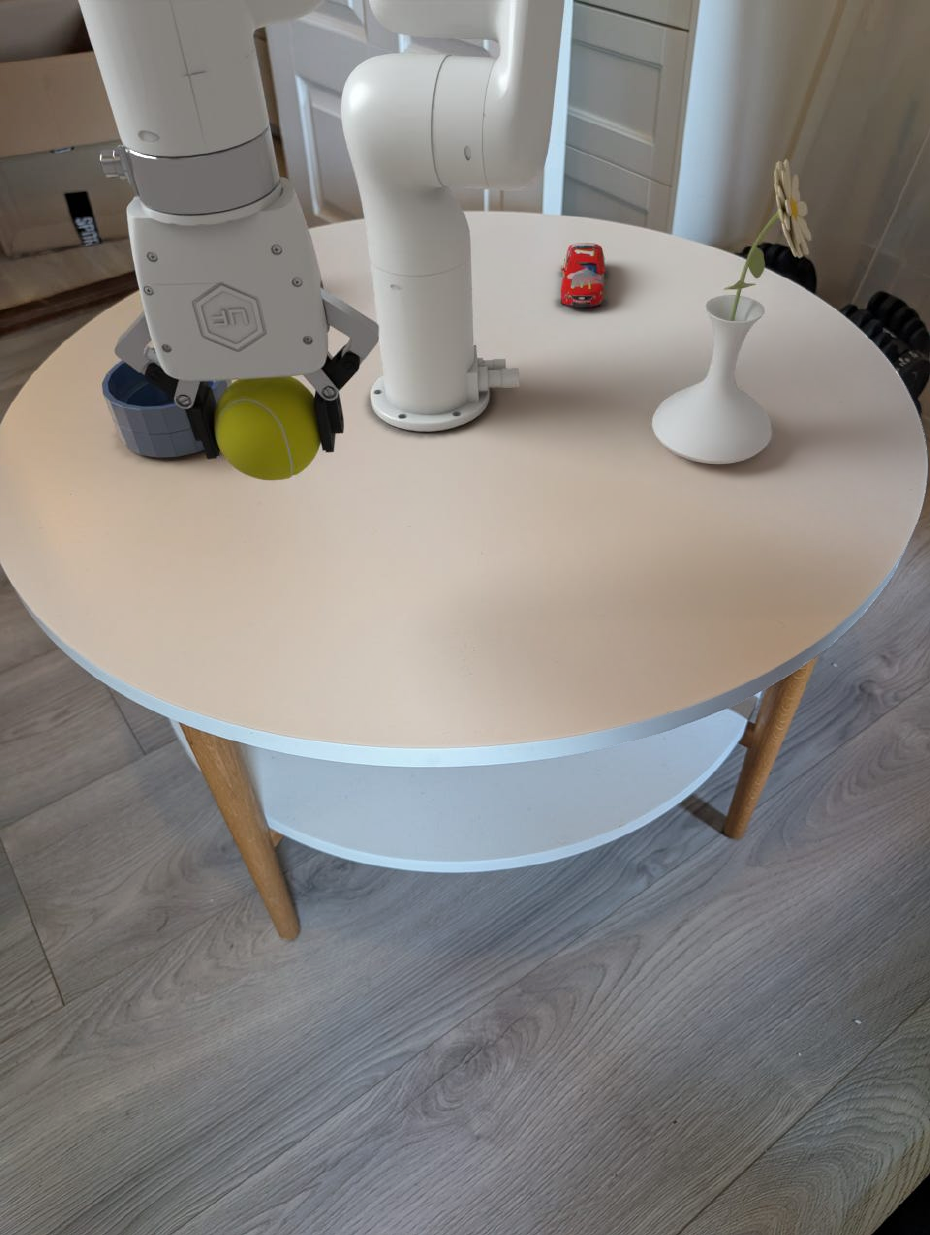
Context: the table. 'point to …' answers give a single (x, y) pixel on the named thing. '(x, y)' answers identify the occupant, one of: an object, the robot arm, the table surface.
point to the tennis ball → (267, 427)
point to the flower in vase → (731, 359)
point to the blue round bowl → (150, 414)
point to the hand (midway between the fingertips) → (273, 441)
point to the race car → (583, 275)
